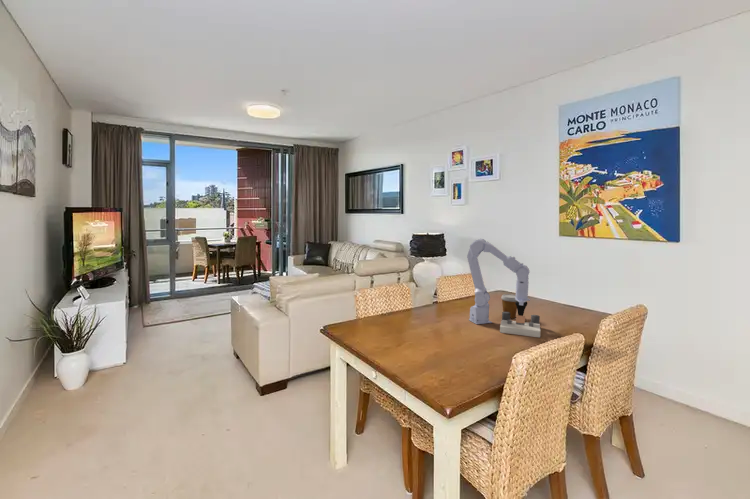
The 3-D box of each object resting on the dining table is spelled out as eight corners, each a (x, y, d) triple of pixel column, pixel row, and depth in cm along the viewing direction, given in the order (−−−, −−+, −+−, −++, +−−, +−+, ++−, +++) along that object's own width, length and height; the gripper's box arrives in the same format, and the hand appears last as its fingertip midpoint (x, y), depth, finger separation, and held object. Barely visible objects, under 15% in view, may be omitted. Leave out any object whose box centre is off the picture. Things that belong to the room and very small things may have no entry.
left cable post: (505, 325, 191) (505, 314, 190) (500, 323, 195) (500, 312, 194) (511, 324, 192) (512, 313, 191) (506, 322, 196) (507, 311, 195)
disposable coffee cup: (521, 319, 201) (522, 298, 200) (503, 319, 201) (504, 297, 200) (514, 314, 210) (515, 294, 209) (498, 314, 211) (499, 293, 209)
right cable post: (534, 328, 186) (534, 317, 185) (528, 326, 189) (529, 315, 189) (540, 328, 187) (541, 316, 186) (535, 325, 191) (535, 314, 190)
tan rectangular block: (524, 324, 181) (524, 316, 183) (515, 323, 183) (516, 315, 184) (524, 325, 182) (524, 316, 184) (515, 324, 184) (516, 315, 185)
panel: (540, 337, 173) (540, 328, 173) (499, 332, 180) (500, 323, 179) (539, 329, 184) (539, 320, 184) (501, 325, 191) (501, 316, 190)
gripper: (530, 293, 178) (529, 320, 179) (530, 287, 191) (528, 313, 192) (515, 292, 180) (513, 319, 182) (515, 286, 194) (514, 311, 195)
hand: (520, 315), depth 187 cm, fingers closed
